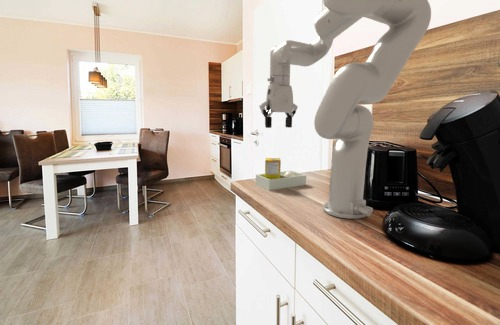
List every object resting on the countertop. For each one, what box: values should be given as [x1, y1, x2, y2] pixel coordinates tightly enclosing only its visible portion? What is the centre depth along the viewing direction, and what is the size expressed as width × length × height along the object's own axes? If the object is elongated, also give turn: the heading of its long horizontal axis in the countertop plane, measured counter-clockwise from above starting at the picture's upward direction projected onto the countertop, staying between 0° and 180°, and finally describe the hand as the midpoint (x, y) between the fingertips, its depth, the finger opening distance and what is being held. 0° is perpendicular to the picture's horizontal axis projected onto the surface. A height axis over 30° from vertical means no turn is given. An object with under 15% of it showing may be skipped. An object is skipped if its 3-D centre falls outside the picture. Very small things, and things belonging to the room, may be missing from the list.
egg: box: [284, 170, 295, 177], centre depth 109 cm, size 5×5×5 cm
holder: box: [255, 170, 307, 191], centre depth 107 cm, size 10×18×5 cm, turn 119°
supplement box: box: [264, 157, 282, 179], centre depth 104 cm, size 6×6×11 cm
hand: (278, 127), depth 102 cm, fingers open, 9 cm apart
